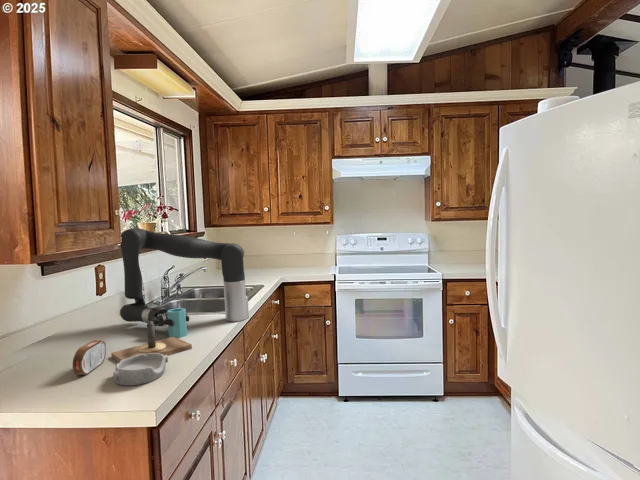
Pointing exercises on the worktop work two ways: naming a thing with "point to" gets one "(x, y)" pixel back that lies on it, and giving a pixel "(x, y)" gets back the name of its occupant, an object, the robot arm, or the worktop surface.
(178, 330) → the collar
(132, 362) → the dish
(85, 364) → the tin
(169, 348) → the post stand
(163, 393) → the worktop surface
